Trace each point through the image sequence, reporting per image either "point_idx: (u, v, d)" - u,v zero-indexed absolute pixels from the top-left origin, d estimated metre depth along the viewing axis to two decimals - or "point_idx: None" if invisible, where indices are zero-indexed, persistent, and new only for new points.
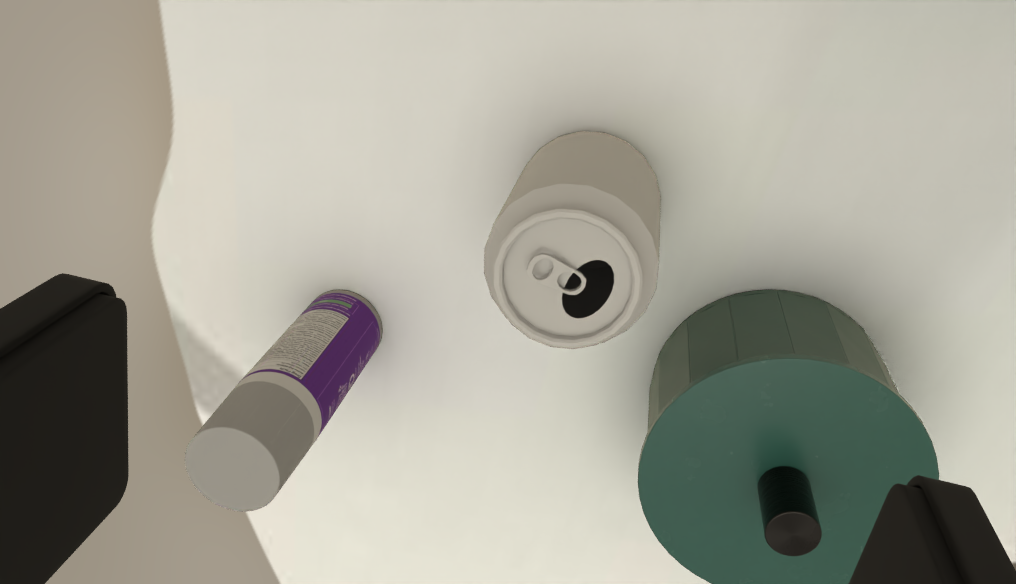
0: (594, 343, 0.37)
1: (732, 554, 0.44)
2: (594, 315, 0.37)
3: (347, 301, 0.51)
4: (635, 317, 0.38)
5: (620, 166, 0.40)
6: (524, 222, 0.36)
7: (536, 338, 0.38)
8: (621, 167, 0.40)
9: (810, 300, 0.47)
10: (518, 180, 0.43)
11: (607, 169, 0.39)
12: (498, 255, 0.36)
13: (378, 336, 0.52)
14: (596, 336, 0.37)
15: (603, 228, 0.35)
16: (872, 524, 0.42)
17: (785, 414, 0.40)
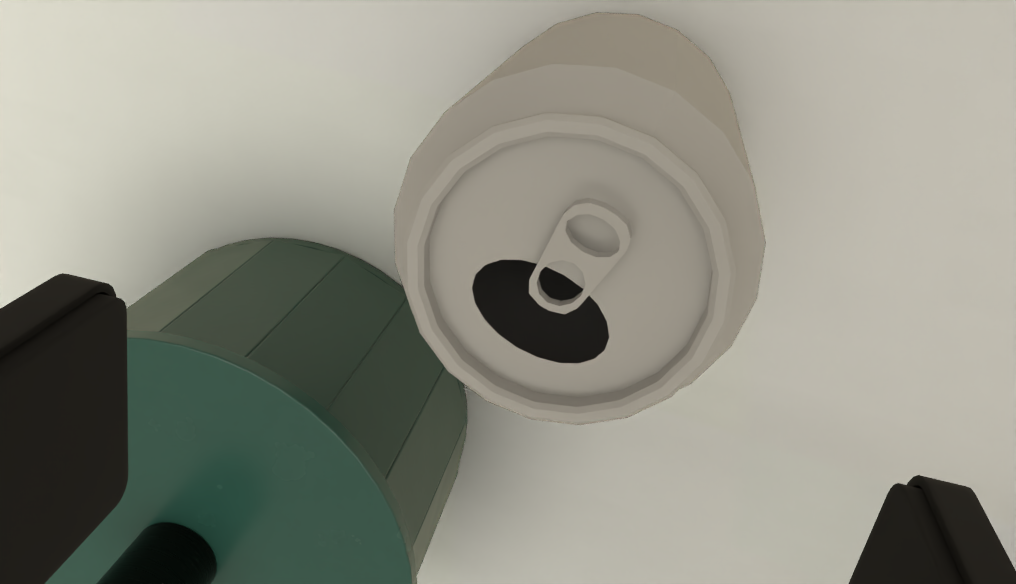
0: (423, 332, 0.17)
1: None
2: (481, 323, 0.18)
3: None
4: None
5: None
6: (707, 198, 0.15)
7: (420, 212, 0.16)
8: None
9: (458, 461, 0.32)
10: (683, 51, 0.22)
11: None
12: (624, 133, 0.15)
13: None
14: (440, 336, 0.17)
15: (688, 360, 0.17)
16: None
17: (309, 562, 0.24)
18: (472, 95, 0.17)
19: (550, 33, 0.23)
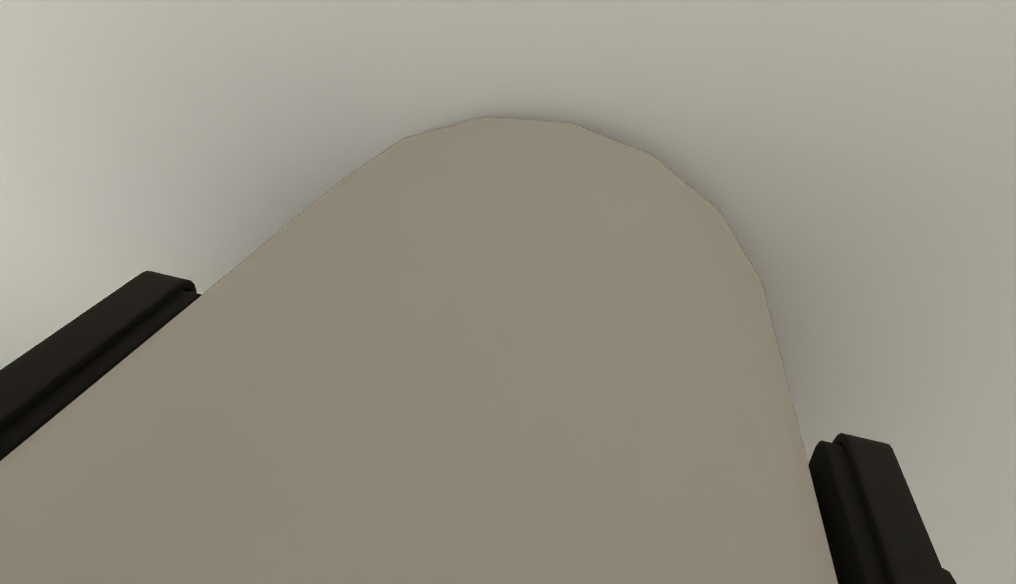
0: None
1: None
2: None
3: None
4: None
5: None
6: None
7: None
8: None
9: None
10: (663, 252, 0.09)
11: None
12: None
13: None
14: None
15: None
16: None
17: None
18: None
19: (354, 190, 0.10)
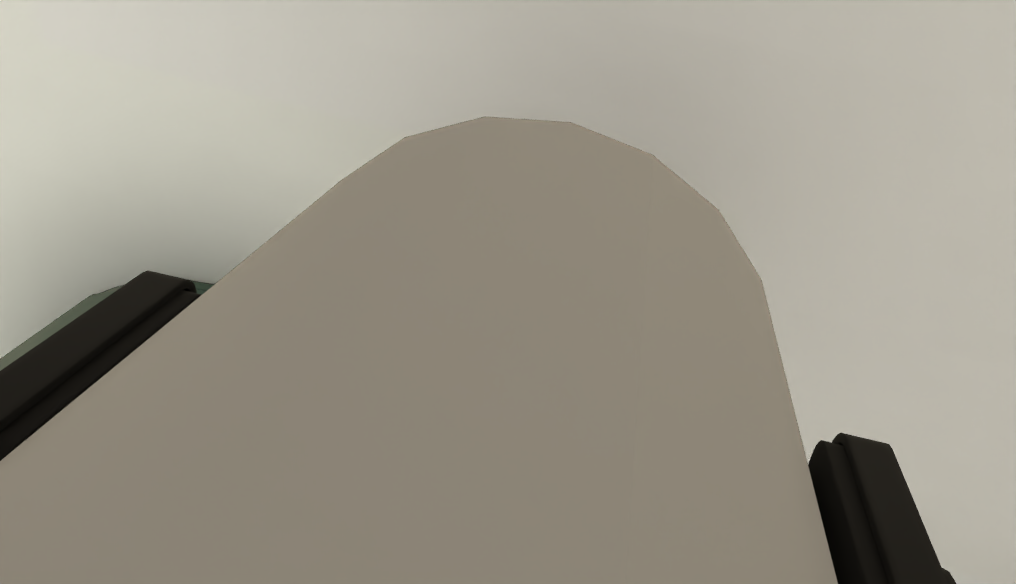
0: None
1: None
2: None
3: None
4: None
5: None
6: None
7: None
8: None
9: None
10: (663, 251, 0.09)
11: None
12: None
13: None
14: None
15: None
16: None
17: None
18: None
19: (355, 189, 0.10)
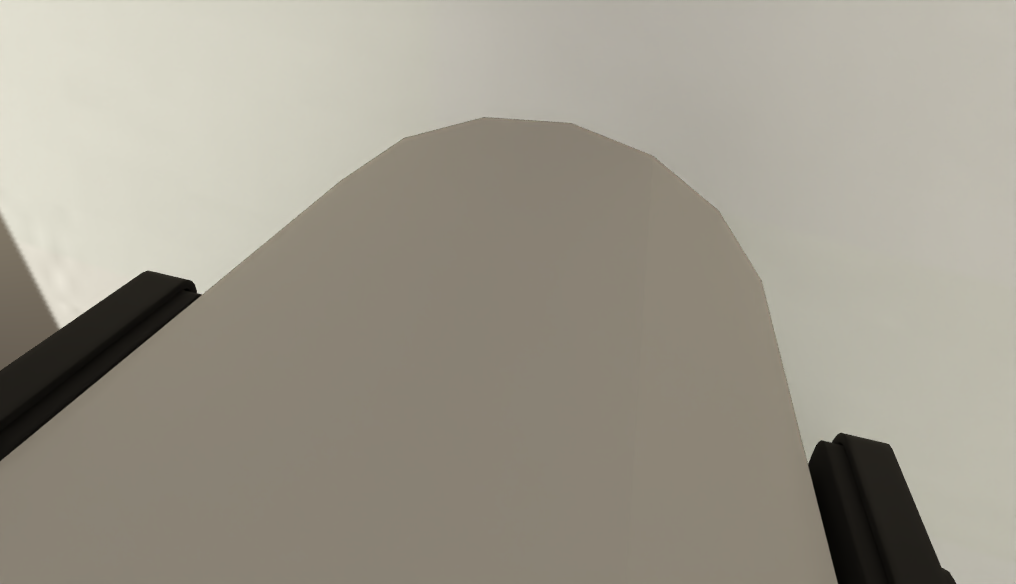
0: None
1: None
2: None
3: None
4: None
5: None
6: None
7: None
8: None
9: None
10: (663, 253, 0.09)
11: None
12: None
13: None
14: None
15: None
16: None
17: None
18: None
19: (354, 190, 0.10)
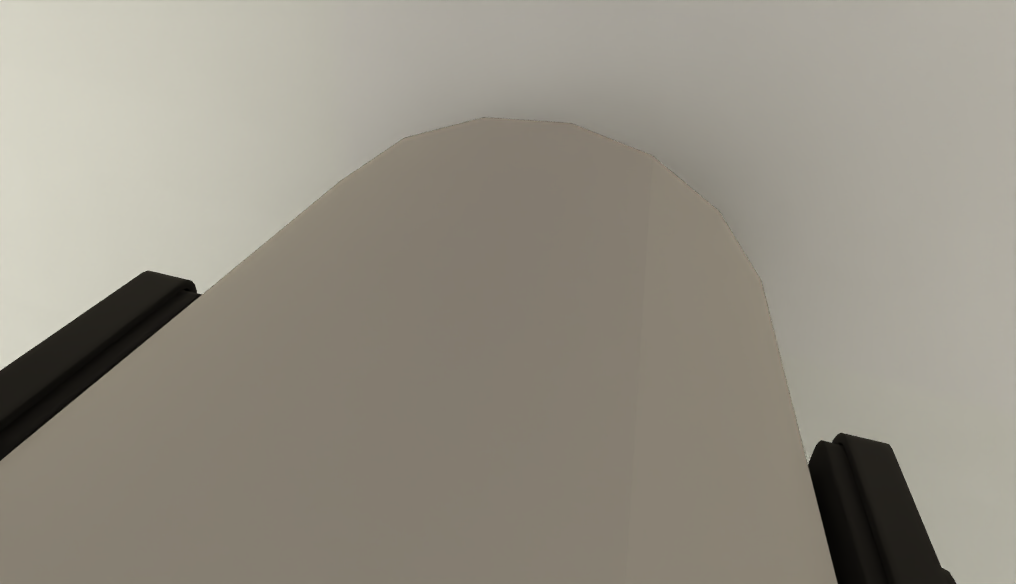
0: None
1: None
2: None
3: None
4: None
5: None
6: None
7: None
8: None
9: None
10: (662, 252, 0.09)
11: None
12: None
13: None
14: None
15: None
16: None
17: None
18: None
19: (354, 190, 0.10)
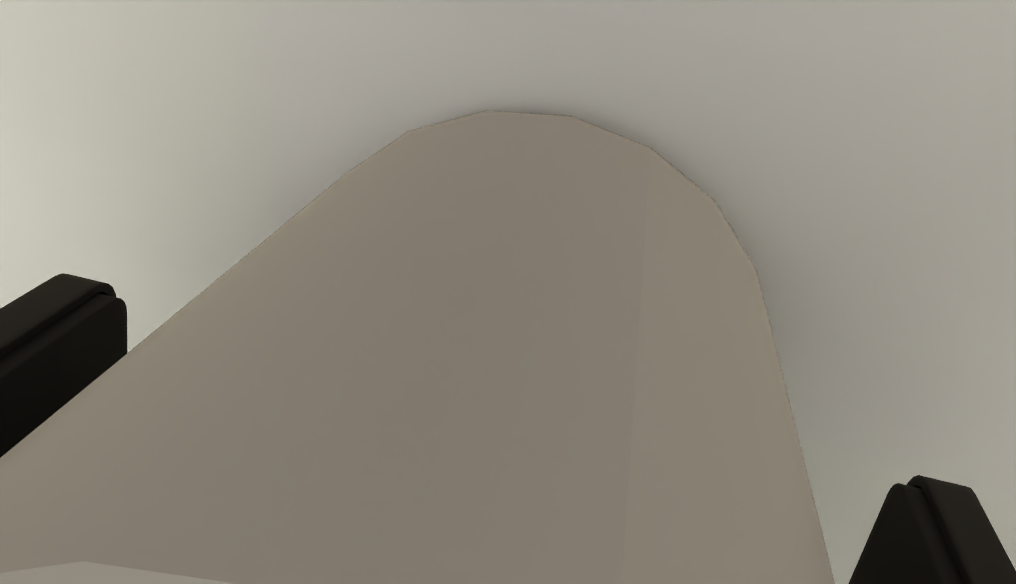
0: None
1: None
2: None
3: None
4: None
5: None
6: None
7: None
8: None
9: None
10: (660, 238, 0.09)
11: None
12: None
13: None
14: None
15: None
16: None
17: None
18: None
19: (362, 180, 0.10)
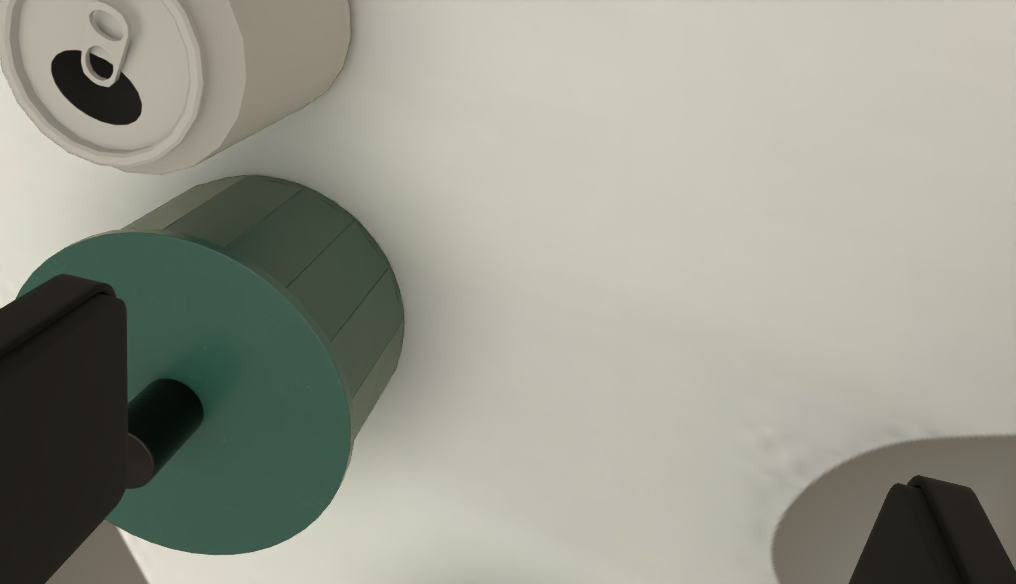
0: (19, 102, 0.26)
1: None
2: (62, 98, 0.26)
3: None
4: None
5: (296, 88, 0.31)
6: None
7: (1, 14, 0.25)
8: (295, 89, 0.31)
9: (397, 355, 0.40)
10: None
11: (285, 78, 0.29)
12: None
13: None
14: (30, 105, 0.26)
15: (183, 113, 0.25)
16: (150, 497, 0.35)
17: (272, 406, 0.32)
18: None
19: None
